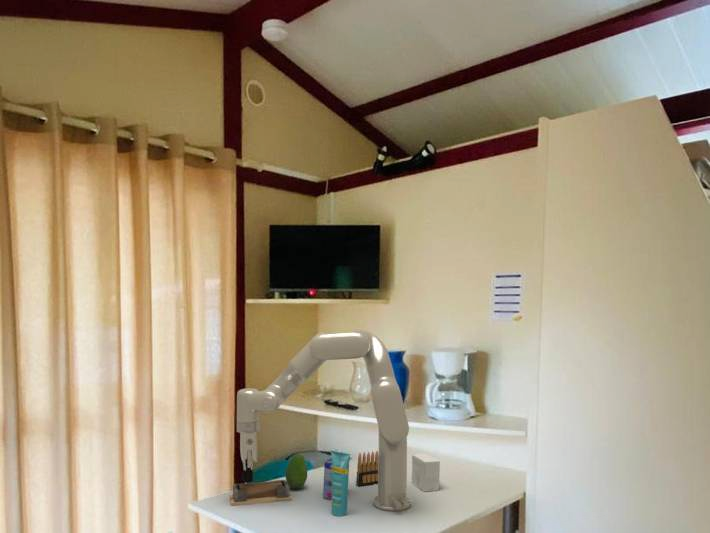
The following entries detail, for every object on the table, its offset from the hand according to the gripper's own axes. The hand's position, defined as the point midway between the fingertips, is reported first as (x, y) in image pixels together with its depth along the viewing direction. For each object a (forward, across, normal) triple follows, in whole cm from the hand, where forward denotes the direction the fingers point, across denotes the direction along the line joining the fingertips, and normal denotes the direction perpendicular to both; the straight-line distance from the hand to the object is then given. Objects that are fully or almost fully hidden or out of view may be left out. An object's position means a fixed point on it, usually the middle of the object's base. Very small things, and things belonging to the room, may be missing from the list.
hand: (247, 481), depth 182 cm
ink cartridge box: (+7, -2, -30) cm, 31 cm away
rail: (+6, 0, -4) cm, 8 cm away
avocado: (+7, +8, -18) cm, 21 cm away
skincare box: (+8, -2, -64) cm, 64 cm away
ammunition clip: (+7, +5, -45) cm, 46 cm away
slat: (+5, 0, -4) cm, 7 cm away
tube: (+7, -18, -27) cm, 33 cm away
